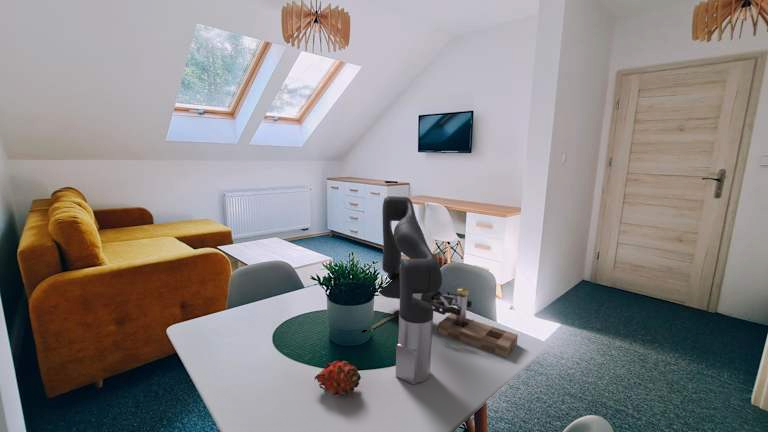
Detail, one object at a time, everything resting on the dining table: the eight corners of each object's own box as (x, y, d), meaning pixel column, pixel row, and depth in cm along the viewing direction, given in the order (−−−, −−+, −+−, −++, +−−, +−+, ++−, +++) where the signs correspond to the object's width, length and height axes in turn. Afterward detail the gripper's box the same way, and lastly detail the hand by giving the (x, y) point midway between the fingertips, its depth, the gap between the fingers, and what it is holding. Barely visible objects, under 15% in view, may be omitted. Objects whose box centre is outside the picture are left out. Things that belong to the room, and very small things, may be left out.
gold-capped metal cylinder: (462, 336, 120) (465, 292, 117) (452, 333, 122) (455, 289, 119) (466, 332, 123) (470, 289, 120) (457, 329, 125) (460, 286, 122)
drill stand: (506, 357, 108) (507, 347, 107) (437, 332, 122) (438, 323, 122) (516, 344, 116) (517, 334, 115) (450, 322, 130) (451, 313, 129)
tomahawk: (373, 340, 118) (374, 337, 117) (359, 332, 122) (359, 329, 122) (410, 318, 134) (410, 316, 133) (396, 312, 138) (397, 309, 137)
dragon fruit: (363, 400, 90) (318, 402, 91) (364, 366, 96) (321, 369, 97) (357, 388, 84) (308, 391, 85) (358, 353, 90) (313, 356, 91)
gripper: (415, 292, 123) (457, 304, 114) (435, 281, 135) (475, 292, 125) (414, 312, 125) (456, 326, 115) (434, 299, 136) (473, 311, 126)
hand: (466, 308), depth 120 cm, fingers open, 8 cm apart
